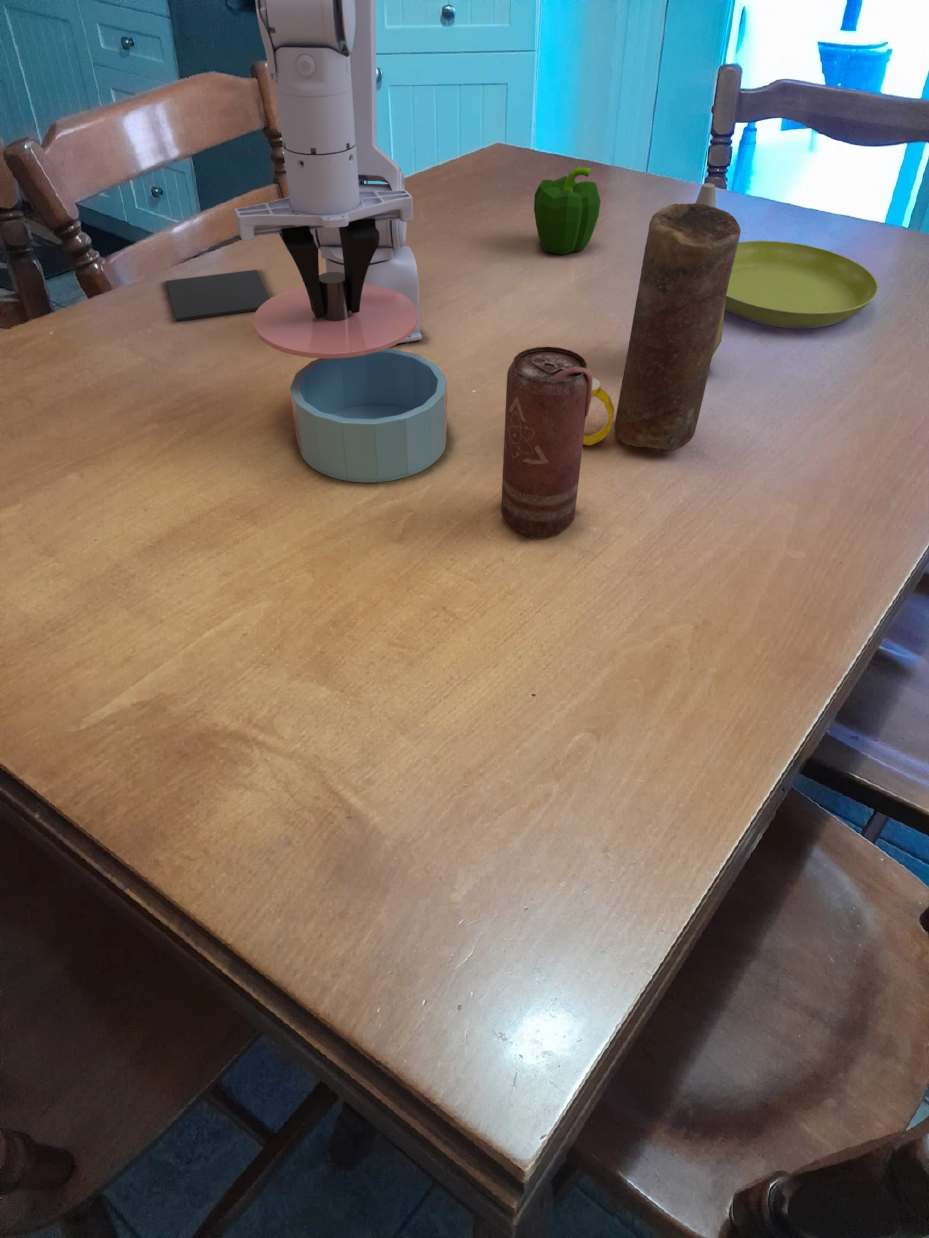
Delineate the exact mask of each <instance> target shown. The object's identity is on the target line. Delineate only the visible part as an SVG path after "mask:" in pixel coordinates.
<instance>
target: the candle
mask: <svg viewBox="0 0 929 1238" xmlns="http://www.w3.org/2000/svg"><path fill="white" fill-rule="evenodd" d="M741 231H742V230H741V228H740V225H739V223H738V221H737V219H736V217H735V216H733V215H732V214H731V213H730V212H728V211H726V210H723V209H719V208H718V207H716V208H715V207H710V206H709V205H704V204H701V203H696V202H694V203H673V204H670V205H667V206H665V207H662V208H660V209H659V210H658V211H657V212H655V213H654V214H653V215H652V217H651V219H650V221H649V224H648V231H647V237H646V243H645V246H644V253H643V258H642V265H641V270H640V278H639V282H638V288H637V294H636V301H635V305H634V306H635V307H634V311H633V318H632V324H631V331H630V334H629V341H628V348H627V352H626V358H625V364H624V368H623V373H622V378H621V385H620V391H619V398H618V402H617V408H616V414H615V421H614V427H613V428H614V432H615V434H616V436H617V439H618V440H619V441H620V442H623V443H624V444H626V445H632V446H633V447H635V448H636V447H639V448H642V447H643V448H644V447H645V448H648V449H650V451H659V452H672V451H675V450H677V449H680V448H682V447H684V446H686V445H687V444H688V443H689V441H691V440H692V439H693V438H694V436H695V434H696V433H695V432H696V429H697V425H698V421H699V417H700V413H701V409H702V405H703V404H702V403H703V401H704V395H705V391H706V386H707V382H708V377H709V373H710V368H711V364H712V360H713V356H714V355H713V350H714V346H715V341H716V337H717V332H718V328H719V324H720V319H721V314H722V310H723V306H724V302H725V298H726V294H727V289H728V285H729V280H730V276H731V272H732V267H733V263H734V259H735V254H736V249H737V245H738V242H740V236H741ZM712 355H713V356H712Z"/></svg>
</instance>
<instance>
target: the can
mask: <svg viewBox="0 0 929 1238" xmlns="http://www.w3.org/2000/svg"><path fill="white" fill-rule="evenodd" d="M592 378H593V375H592V373H591V371H590V370H589V368H588V363H587V362H586V359H585V358H584V357H583V356H581V354H579V353H577V352H575V351H572V350H570V349H567V348H562V347H555V346H536V347H532V348H526V349H525V350H522V351H520V352H519V353H517V354H516V355H515V356H514V357H513V360H512V362H511V364H510V365H509V367H508V369H507V373H506V389H505V390H506V391H505V410H504V413H505V414H504V435H503V436H504V437H503V454H502V455H503V457H502V459H503V460H502V479H501V480H502V481H501V500H500V501H501V502H500V503H501V504H500V514H501V516H502V519H503V520H504V522H505V523H506V524H507V526H508V527H509V528H510V529H511V530H512V531H514V532H516V533H517V534H519V535H522V536H525V537H528V538H530V537H531V538H536V539H537V538H538V539H542V538H550V537H554V536H557V535H559V534H561V533H563V532H564V531H567V529H568V528H569V527H570V526H571V524H573V522H574V521H575V515H576V509H577V500H578V491H579V490H578V489H579V481H580V473H581V464H582V454H583V446H584V444H583V438H584V435H585V430H586V419H587V417H588V414H589V410H590V406H591V402H592V398H593V397H592Z"/></svg>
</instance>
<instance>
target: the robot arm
mask: <svg viewBox="0 0 929 1238" xmlns="http://www.w3.org/2000/svg"><path fill="white" fill-rule="evenodd" d="M254 1H255V11H256V17H257V24H258V27H259V32H260V36H261V40H262V44H263V47H264V51H265V57H266V61H267V70H268V74H269V78H270V80H271V81H274V83H275V91H276V93H275V94H276V100H277V110H278V116H279V117H278V118H279V125H280V133H281V134H280V135H281V141H282V142H281V143H282V149H283V151H282V152H283V158H284V167H285V176H286V184H287V192H288V196H287V197H283V198H280V199H276V200H275V199H274V200H270V201H268V202H263V203H259V204H253V205H249V206H244V207H235V208H234V214H235V215H234V216H235V221H236V228H237V233H238V235H239V238H240V239H241V241H242V242H245V241H253V240H255V239H256V237H260V236H270V235H279V236H280V239H281V241H282V242H283V244H284V246H285V248H286V249H287V251H288V253H289V254H290V256H291V258H292V260H293V261H294V264H295V266H296V267H297V270H298V272H299V274H300V277H301V279H302V281H303V284H304V286H305V287H306V290H307V293H308V296H309V300H310V304H311V309H312V311H313V313H314V315H315V317H316V318H322V317H324V307H323V301H322V295H321V289H320V282H319V275H320V266H319V263H320V262H319V250H320V257H321V259H323V260H324V261H325V273H326V272H341V273H344V274H346V275H347V277H348V289H349V301H350V311H351V312H352V313H357V312H359V311H360V300H361V294H362V289H363V284H364V283H366V284H372V285H378V286H382V287H385V288H388V289H391V290H394V291H396V292H399V293H400V294H402V295H404V296H406V297H407V298H408V299H409V300H411V301H412V303H413V304H414V305H415V307H416V309H417V313H418V323H417V325H416V328H415V329H414V331H413V332H412V333H411V334H410V335H409V336H408V337H407V338H406V339H404V340H403V341H402V342H400V343H399V344H403V343H409V342H416V341H420V340H423V335H422V333H421V319H420V283H419V282H420V281H419V273H418V266H417V261H416V258H415V255H414V253H413V250H412V249H411V247H410V246H409V245H406V241H407V227H408V225H407V224H408V223H407V222H413V221H414V200H413V199H414V198H413V196H412V195H411V194H410V193H409V191H407V189H405V187H406V185H405V182H406V181H405V175H404V172H403V171H402V167H401V166H400V164H399V163H398V162H397V161H395V160H394V159H393V158H392V157H391V156H390V155H388V153H386V152H384V151H383V150H382V149H381V148H380V147H379V146H378V102H377V99H378V98H377V95H378V93H377V91H378V90H377V88H378V87H377V21H376V20H377V14H376V13H377V10H376V9H377V6H376V5H377V3H376V1H377V0H254ZM360 182H382V183H360Z"/></svg>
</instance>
